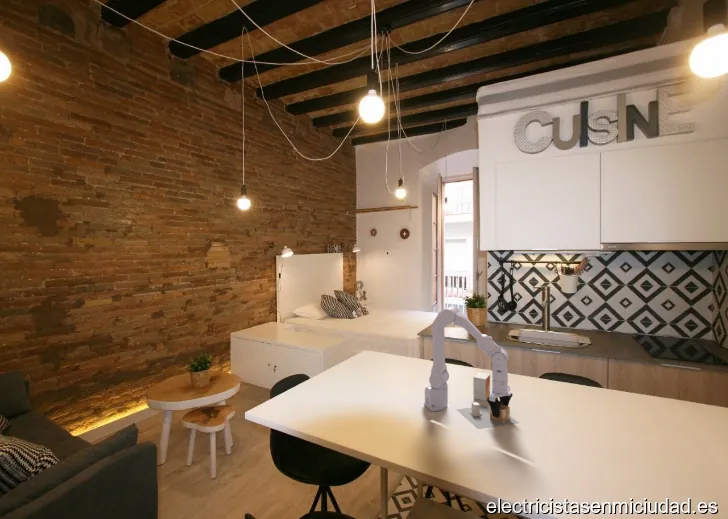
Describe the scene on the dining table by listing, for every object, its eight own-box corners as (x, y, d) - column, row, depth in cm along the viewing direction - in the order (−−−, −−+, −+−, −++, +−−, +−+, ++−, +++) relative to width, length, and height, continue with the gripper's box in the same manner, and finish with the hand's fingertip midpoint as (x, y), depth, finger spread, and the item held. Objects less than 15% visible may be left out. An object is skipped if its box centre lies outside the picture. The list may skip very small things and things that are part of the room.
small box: (485, 402, 147) (485, 379, 147) (473, 399, 151) (473, 376, 150) (490, 396, 154) (490, 374, 154) (478, 393, 157) (478, 371, 157)
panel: (478, 430, 124) (478, 418, 124) (456, 411, 139) (456, 400, 139) (519, 424, 128) (519, 412, 128) (493, 406, 144) (493, 395, 144)
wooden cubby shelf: (503, 423, 128) (503, 410, 128) (489, 418, 132) (489, 406, 132) (509, 418, 132) (509, 406, 132) (496, 413, 136) (496, 401, 136)
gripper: (502, 387, 124) (502, 423, 124) (517, 377, 134) (517, 411, 134) (484, 382, 129) (484, 417, 129) (500, 373, 139) (500, 405, 139)
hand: (500, 413), depth 132 cm, fingers open, 7 cm apart
